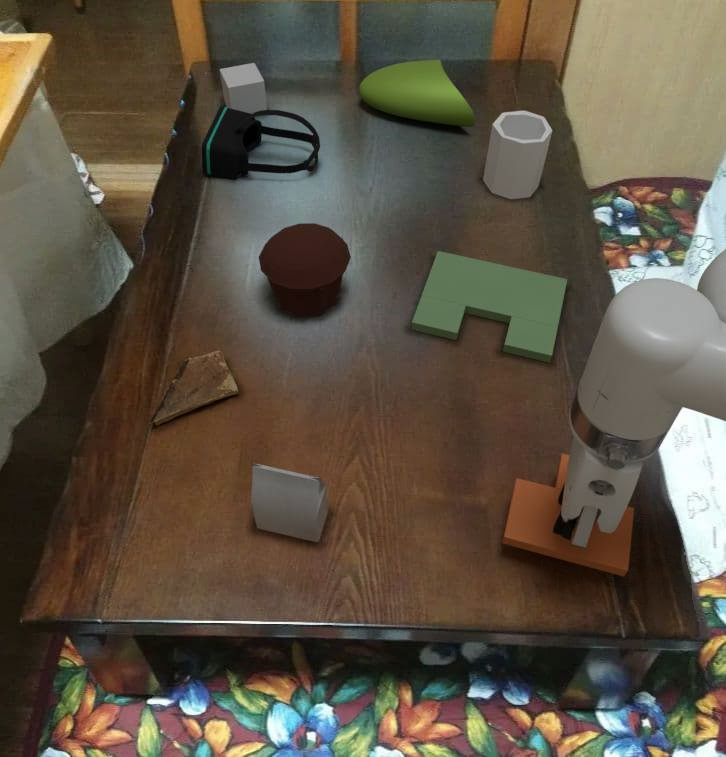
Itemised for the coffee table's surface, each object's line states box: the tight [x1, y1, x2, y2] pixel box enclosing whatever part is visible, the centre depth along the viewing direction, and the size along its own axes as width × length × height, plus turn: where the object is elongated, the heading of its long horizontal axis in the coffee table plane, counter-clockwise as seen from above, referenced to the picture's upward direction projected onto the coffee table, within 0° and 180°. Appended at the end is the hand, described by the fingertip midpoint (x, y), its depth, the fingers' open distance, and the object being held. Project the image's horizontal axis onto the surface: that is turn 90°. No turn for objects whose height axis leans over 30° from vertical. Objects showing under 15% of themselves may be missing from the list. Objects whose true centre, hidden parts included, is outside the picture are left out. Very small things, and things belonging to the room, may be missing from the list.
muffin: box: [258, 222, 352, 319], centre depth 95 cm, size 12×11×10 cm
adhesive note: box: [219, 62, 268, 114], centre depth 123 cm, size 6×6×6 cm
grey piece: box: [250, 463, 329, 543], centre depth 74 cm, size 4×7×10 cm, turn 76°
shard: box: [149, 350, 240, 426], centre depth 88 cm, size 11×8×2 cm
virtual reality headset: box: [201, 105, 321, 179], centre depth 113 cm, size 11×17×10 cm, turn 81°
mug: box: [482, 110, 553, 200], centre depth 111 cm, size 12×9×10 cm
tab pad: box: [501, 453, 635, 577], centre depth 73 cm, size 12×11×8 cm
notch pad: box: [410, 250, 568, 364], centre depth 97 cm, size 18×14×2 cm
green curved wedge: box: [358, 59, 476, 128], centre depth 122 cm, size 8×12×20 cm
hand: (571, 518), depth 73 cm, fingers closed on tab pad, 2 cm apart
